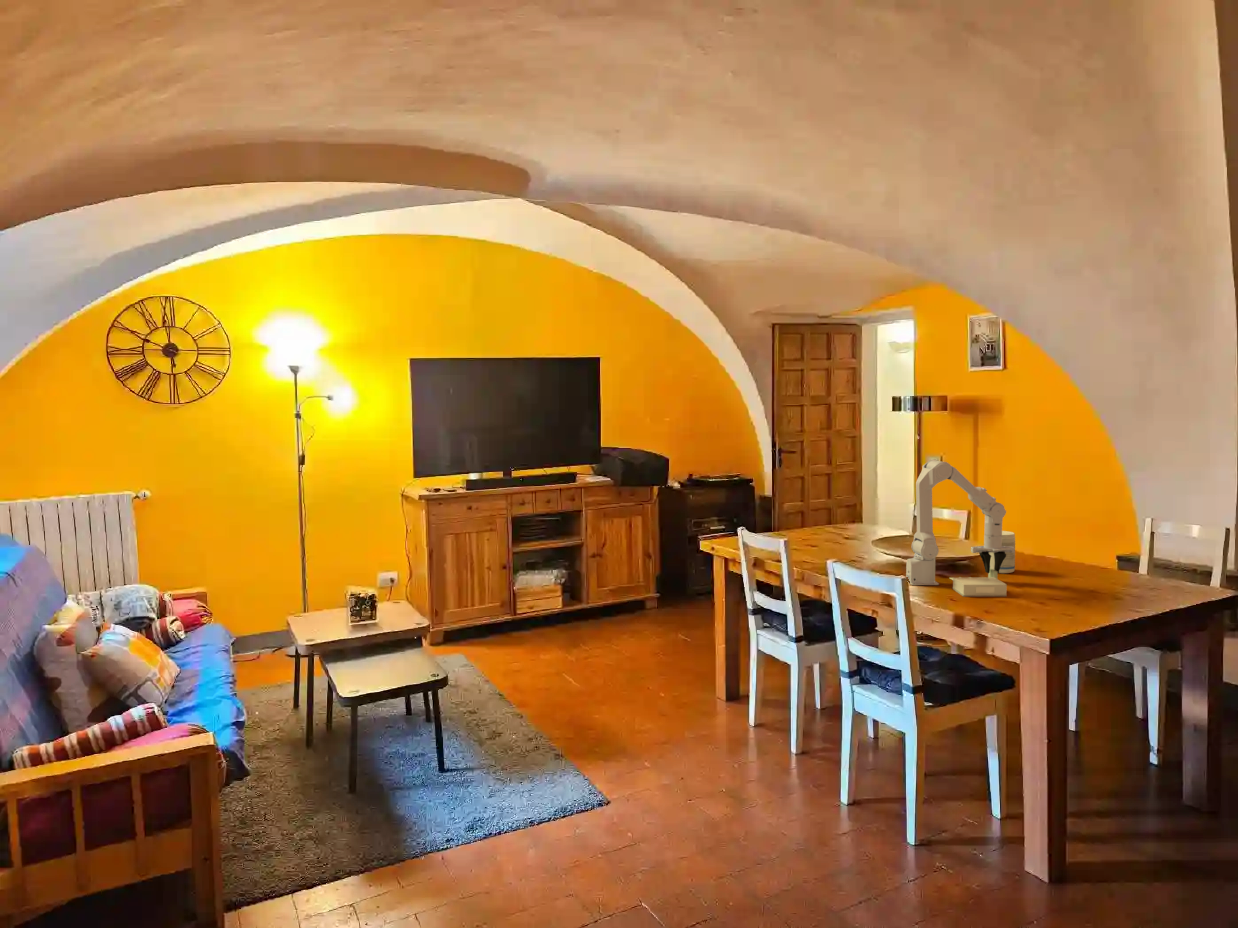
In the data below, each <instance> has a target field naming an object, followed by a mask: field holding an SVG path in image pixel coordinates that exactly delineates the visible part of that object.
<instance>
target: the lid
mask: <svg viewBox="0 0 1238 928" xmlns="http://www.w3.org/2000/svg"><path fill="white" fill-rule="evenodd" d="M998 574H999V573H998V571H996V570H994V569H992V568H990V573H987V577H982V576H981V577H979V576H977V578H988V577H995V578H996V579H998ZM953 578H954V577H949V579H950V580H952V581H953ZM958 578H963V577H961V576H959V577H958ZM968 578H972V577H971V576H968Z"/></svg>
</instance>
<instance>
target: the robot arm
mask: <svg viewBox="0 0 1238 928" xmlns="http://www.w3.org/2000/svg"><path fill="white" fill-rule="evenodd" d="M921 467H922V469H921V472H920V473H919V476H918V477H917V479H916V482H915V495H916V496H915V497H916V499H915V500H916V501H915V504H916V505H915V506H916V507H915V508H916V532H915V533H914V534H913V541H912V542H911V550H912V552H913V553H914V554H913V557H912V558H907V559H906V562H905V563H906V567H905V569H906V571H905V572H906V573H905V575H906V576H905V578H906V577H908V579H909V581H910V583H909V584H910V585H912V586H939V585H940V583H939V582H937V581H936V558H937V556H938V555H939V547H938V544H937V543H936V542H937V540H936V536H935V533H934V532H933V531H934V529H933V528H934V527H933V488H935V486H937V484H939V483H941V482H943V481H945V480H949V481H952V482H953V483H954V484H956V485H957V486H958V487H959V488H961V489H962V490H963V491H964V492H965V493H967V499H968V500H969V501H970V502H972V503H973V504H974V505H975V506H976V507H978V508H979V509H980V510H981V513H982V515H984V530H983V531H984V535H983V545H980V546H978V545H977V546H971V547H970V553H972V554H976V553H977V554H979V555H980V558H981V560H982V563H983V566H984V570H985V571H984V572H985V573H987V574H988V573H990V559H991V555H989V553H991V552H994V559H995V566H994V570H996V571H998V574H1000V573H999V570H1000V567H1001V564H1002V562H1003V560H1004V559H1005V557H1006V554H1005V552H1011V553H1014V550H1015V551H1016V547H1015V548H1014V547H1012V546H1002V531H1003V519H1004V517H1005V516H1006V513H1007V510H1006V509H1005V505H1004V504H1003V503H1000V502H997V501H996V500H997V498H996V497H994V496H991V495H990V494H989V493H988V492H987V491H988V490H987V489H986V488H984V487H981V486H975V485H973V483H972V482H970V480H968V479H967V478H966V477H965V476H964V475H963V474H962V473H961V472H960V470H958V469H957V468H956V467H954V466H953V465H951V464H950V463H949V462H947V461H941V460H937V459H930V460H928V461H927V462H926V463H924V464H923V465H922V466H921Z"/></svg>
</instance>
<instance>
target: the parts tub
mask: <svg viewBox="0 0 1238 928" xmlns="http://www.w3.org/2000/svg"><path fill="white" fill-rule="evenodd" d="M987 577H988V576H987ZM952 578H953V580H952V590H953V591H955V592H956V593H958V594H959V595H960V596H962V597H1008V596H1007V588H1008V587H1007V586H1008V585H1007V583H1005V582H1003V581H1001V580H999V579H998V578H997V579H996V578H995V577H988V578H978V577H971V578H969V577H962V578H959V577H952Z"/></svg>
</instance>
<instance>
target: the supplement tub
mask: <svg viewBox="0 0 1238 928" xmlns="http://www.w3.org/2000/svg"><path fill="white" fill-rule="evenodd" d="M1002 546H1012V547H1014V548H1015V550H1014V553H1011V552H1005V554H1006V557H1005V559H1004V560H1003V562H1002V564H1001V567H1000V570H999V573H998V574H1009V573H1011V574H1012V573H1013V572H1015V570H1016V533H1015V532H1013V531H1009V530H1008V531H1006V530H1002ZM989 555H991V559H990V568H992V569H994V566H995V559H994V552H991V553H989Z"/></svg>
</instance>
